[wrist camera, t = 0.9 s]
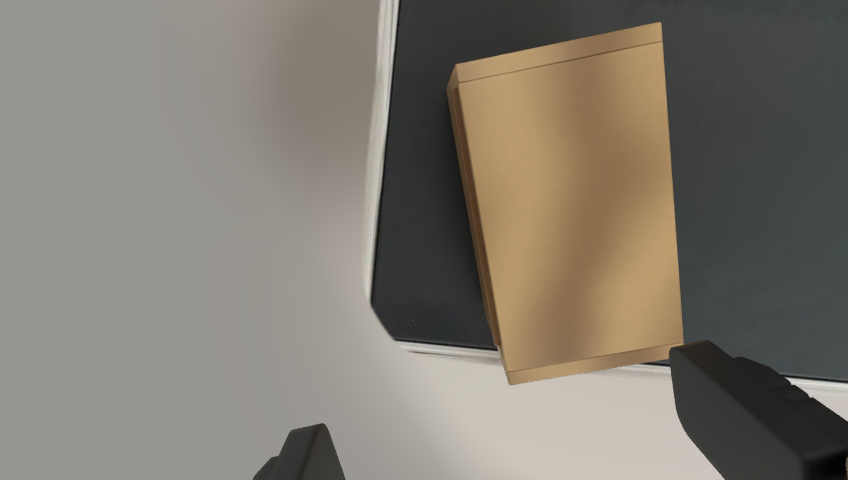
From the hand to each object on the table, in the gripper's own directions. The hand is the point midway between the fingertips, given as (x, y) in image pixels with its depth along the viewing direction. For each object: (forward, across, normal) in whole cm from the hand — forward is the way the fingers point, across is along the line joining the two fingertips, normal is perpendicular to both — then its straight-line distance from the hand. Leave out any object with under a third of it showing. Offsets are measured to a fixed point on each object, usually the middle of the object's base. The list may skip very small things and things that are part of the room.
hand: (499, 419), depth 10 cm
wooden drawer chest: (+23, -6, -1) cm, 24 cm away
